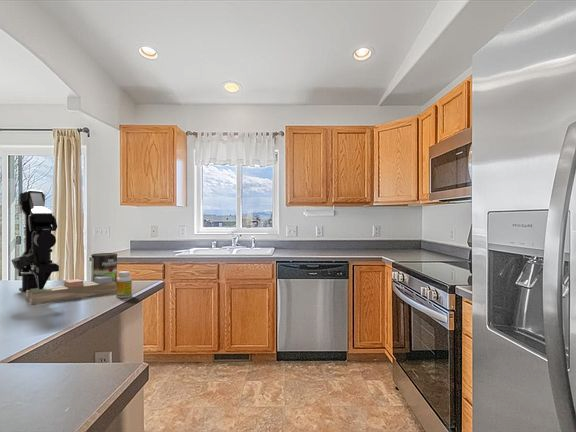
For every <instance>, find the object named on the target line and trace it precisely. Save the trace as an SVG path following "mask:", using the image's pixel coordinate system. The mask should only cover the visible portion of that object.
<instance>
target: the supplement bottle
mask: <svg viewBox="0 0 576 432" xmlns="http://www.w3.org/2000/svg"><path fill="white" fill-rule="evenodd" d="M130 275H131V272H130V271H129V270H128V271H127V270H122V271H118V276H117V285H116V294H115V296H116V298H118V299H127V298H129V297H132V290H133V289H132V283H133V282H132V281H133V280H132V277H131V276H130Z"/></svg>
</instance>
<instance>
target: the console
mask: <svg viewBox="0 0 576 432" xmlns="http://www.w3.org/2000/svg"><path fill="white" fill-rule="evenodd" d="M116 286H117V285H116V282H114V281H112V282H109V283H102V284H98V283H95V282H91V281H87V282H83V286H80V287H73V288H67V287H65V286H64V285H56V286H49V287H48V288H50V289H51V291H43V292H36V293H34V292H32V291H31V290H26V291H25V302H26V301H27V302H26V303H28V304H30V305H31V306H32V305H40V304H46V303H52V302H57V301H66V300H71V299H77V298H83V297H84V298H85V297H90V295H91V296H98V295H102V294H110V293H115V292H116ZM97 294H98V295H97Z"/></svg>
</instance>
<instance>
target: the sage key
mask: <svg viewBox="0 0 576 432" xmlns="http://www.w3.org/2000/svg"><path fill="white" fill-rule="evenodd" d="M31 291H32V292H34V293H36V292H43V291H51V289H50V288H48V287H47V286H44V288H43V289H39V288H34V289H31Z"/></svg>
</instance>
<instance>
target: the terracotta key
mask: <svg viewBox="0 0 576 432" xmlns="http://www.w3.org/2000/svg"><path fill="white" fill-rule="evenodd" d="M83 283H84V280H82V279H79V278H76V279H67V280H64V283H63V284H64V286H65V287H67V288H73V287H80V286H83Z"/></svg>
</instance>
